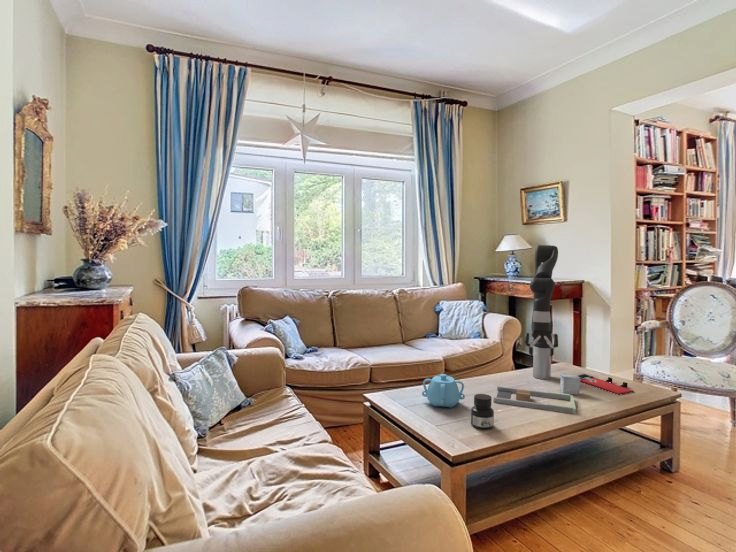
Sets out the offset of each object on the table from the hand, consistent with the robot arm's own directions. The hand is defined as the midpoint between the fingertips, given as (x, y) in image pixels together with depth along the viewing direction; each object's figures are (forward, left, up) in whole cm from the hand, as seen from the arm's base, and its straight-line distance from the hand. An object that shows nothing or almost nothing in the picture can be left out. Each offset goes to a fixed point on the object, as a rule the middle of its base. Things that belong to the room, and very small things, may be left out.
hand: (541, 355), depth 194 cm
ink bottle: (+38, -21, -22) cm, 49 cm away
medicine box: (-19, +14, -22) cm, 32 cm away
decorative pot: (+20, -41, -22) cm, 51 cm away
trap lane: (0, -3, -22) cm, 22 cm away
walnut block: (0, -7, -22) cm, 23 cm away
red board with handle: (-41, +30, -23) cm, 56 cm away
